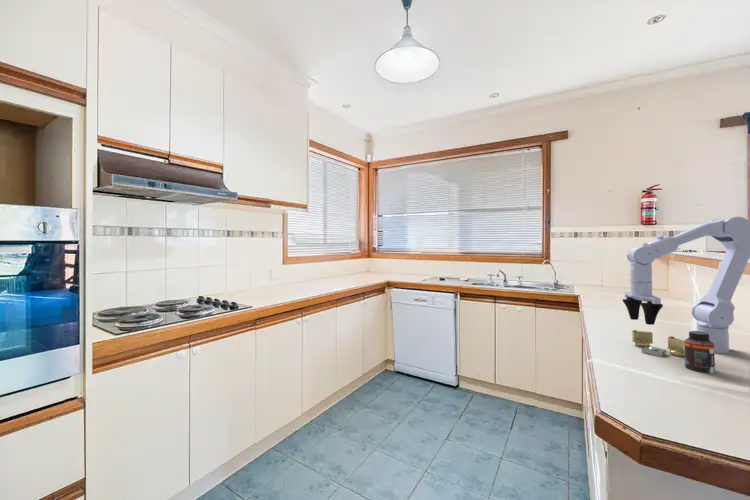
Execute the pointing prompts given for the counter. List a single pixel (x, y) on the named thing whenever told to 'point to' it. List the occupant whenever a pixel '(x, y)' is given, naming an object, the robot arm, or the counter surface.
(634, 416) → the counter surface
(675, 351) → the knob
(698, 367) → the supplement bottle
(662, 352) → the instrument base
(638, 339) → the knob
